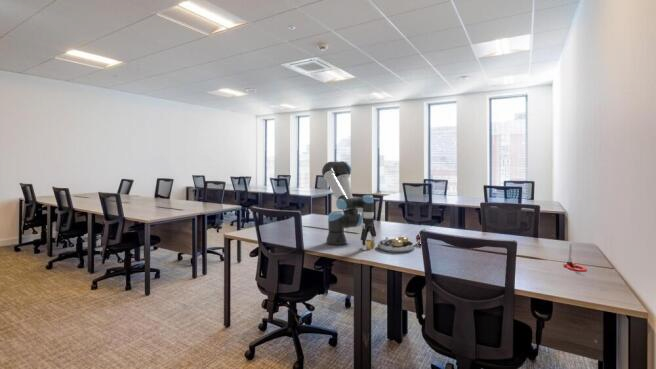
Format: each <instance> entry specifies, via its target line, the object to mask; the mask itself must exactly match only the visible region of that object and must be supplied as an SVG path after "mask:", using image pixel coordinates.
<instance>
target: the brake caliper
mask: <svg viewBox="0 0 656 369" xmlns="http://www.w3.org/2000/svg"><path fill="white" fill-rule="evenodd" d="M422 230H426V229H425V228H424V229H422ZM420 237H421V236H419V233H418V234H417V235H416V236H415V240H416V242H417V243H416V246H417V247H420Z"/></svg>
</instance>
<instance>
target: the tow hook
mask: <svg viewBox="0 0 656 369" xmlns="http://www.w3.org/2000/svg"><path fill="white" fill-rule="evenodd" d="M572 246H573V244H572V243H569V250H568V257H567V261H566V263H565V264H562V266H563V267H564V268H567V269H568V270H571V271H575V272H587V268H586V267H585V266H582V265H578V264H576V263H573V261H572V260H573V258H572V254H573V253H572V252H573V247H572Z"/></svg>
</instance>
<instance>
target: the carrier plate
mask: <svg viewBox="0 0 656 369" xmlns="http://www.w3.org/2000/svg"><path fill="white" fill-rule="evenodd" d="M377 248H378V250H380V251H382V252H385V253H391V254H403V253H404V254H406V253H411V252H413V251H414V250H415V243H414V242H413V241H411V240H409V237H407V236H399V237H397V238H395V237H394V238H389V237H388V236H385V239H382V240H379V241H378V242H377Z"/></svg>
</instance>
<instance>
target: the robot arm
mask: <svg viewBox="0 0 656 369" xmlns="http://www.w3.org/2000/svg"><path fill="white" fill-rule="evenodd" d="M351 174H352V167H351V165H350V163H349V162H347V161H327V162H326V163H325V164H324V165H323V167H322V170H321V175H322V177H323V179H324V180H325V181H326V182H327V184H328V186H329V188H330V190H331V191H332V193H333V195H334V197H335V199H336V202H335V203H336V204H335V205H336V208H337V210H336V211H333V212H329V213H328V215H327V222H328V223H327V225H328V229H327V230H328V234H327V236H326V240H325V241H326V242H325V243H326V245H328V246H343V245H347V243H348V240H347V237H346V235H345V229H349V228H356V227H357V228H358V227H360V226H361V225H362V224H364V225H362V230H361V235H360V241H361V243H362V246H361V247H362V249H361V250H363V251H367V250H368V249H367V246H366V240H367V237H368V235H369V233H370V235H371V236H370V240H373V241H374V247H375V245H376V239H375V238H376V237H377V231H376V227H375V219H374V216H375V212H374V209H375V208H374V204H375V202H374V196H373V195H369V194H368V195H362V197H361V196H356V197H353V193H352V192H353V191H352V188H351V185H350V180H349V178H350V177H351V176H350V175H351ZM359 209H362V212H361V211H359Z"/></svg>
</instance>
